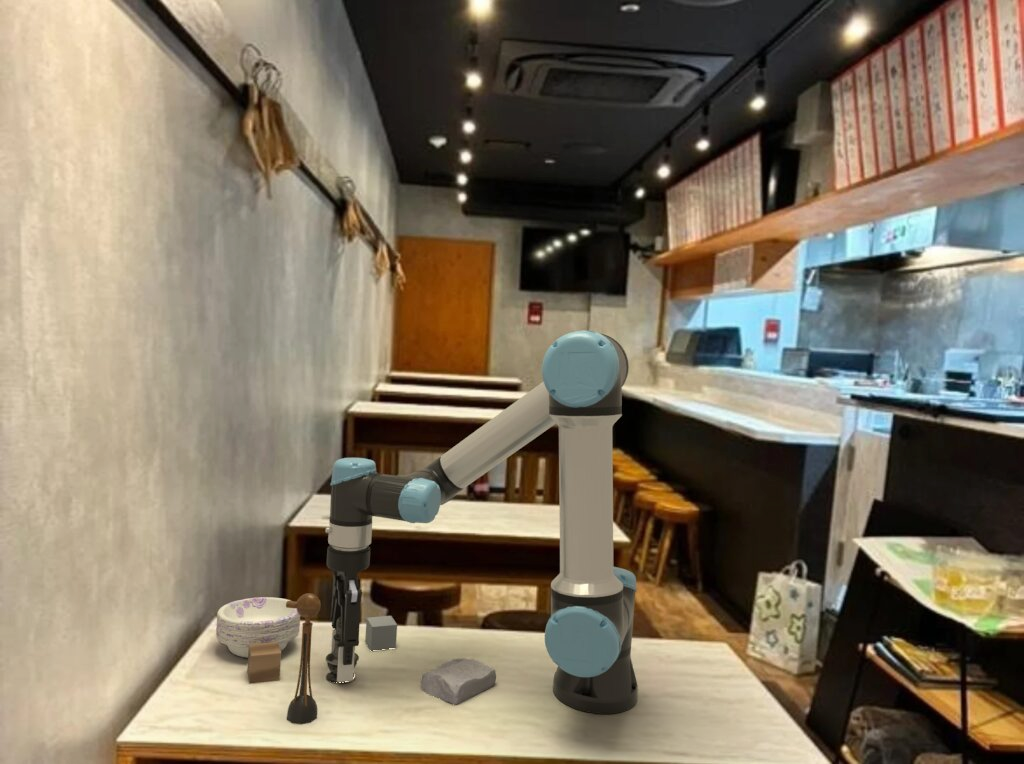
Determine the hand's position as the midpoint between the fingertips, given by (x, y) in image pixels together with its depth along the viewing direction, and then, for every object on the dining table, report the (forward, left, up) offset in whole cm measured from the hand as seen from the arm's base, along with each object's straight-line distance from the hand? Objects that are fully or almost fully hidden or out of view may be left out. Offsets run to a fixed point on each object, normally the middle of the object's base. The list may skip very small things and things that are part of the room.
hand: (341, 672), depth 133 cm
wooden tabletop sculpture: (-12, +9, -1) cm, 15 cm away
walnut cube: (+4, +13, -1) cm, 14 cm away
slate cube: (+12, -10, -1) cm, 16 cm away
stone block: (-9, -19, -1) cm, 21 cm away
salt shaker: (0, 0, -1) cm, 1 cm away
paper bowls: (+16, +13, -1) cm, 21 cm away
